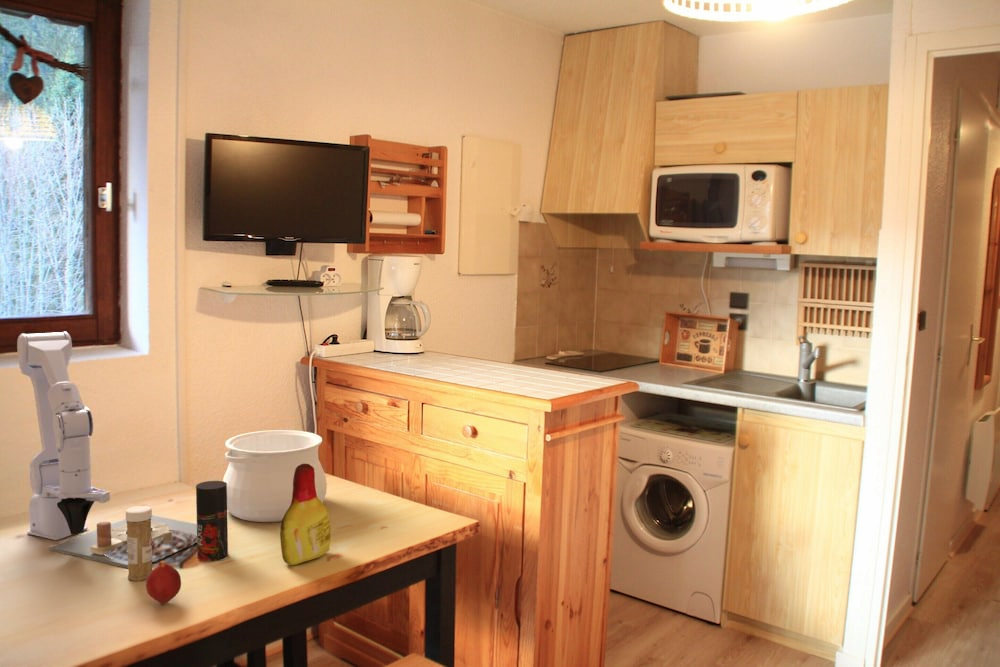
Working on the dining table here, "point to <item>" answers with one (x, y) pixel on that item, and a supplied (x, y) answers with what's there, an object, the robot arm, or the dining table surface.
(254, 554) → the dining table surface
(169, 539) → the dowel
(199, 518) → the deodorant
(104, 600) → the dining table surface
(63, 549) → the post board
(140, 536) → the sprinkles bottle
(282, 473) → the pot
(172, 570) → the onion
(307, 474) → the bottle
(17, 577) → the dining table surface
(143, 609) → the dining table surface
